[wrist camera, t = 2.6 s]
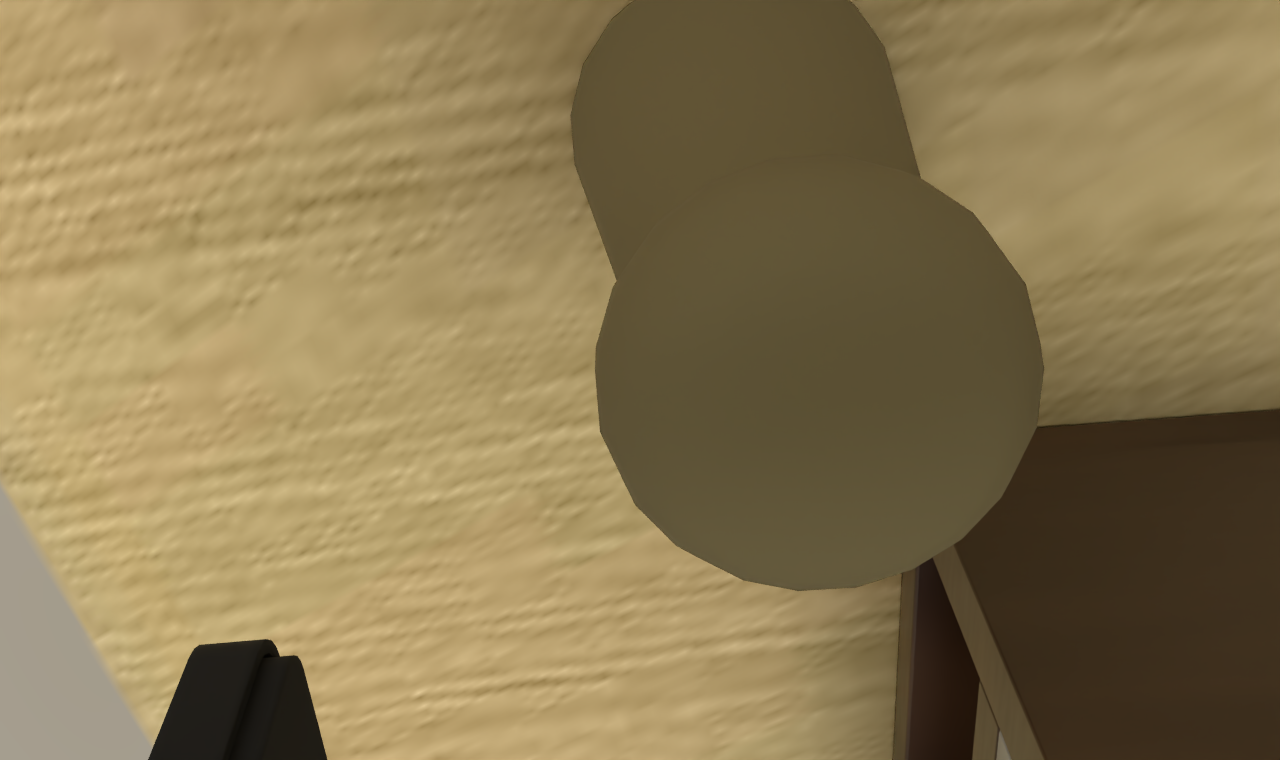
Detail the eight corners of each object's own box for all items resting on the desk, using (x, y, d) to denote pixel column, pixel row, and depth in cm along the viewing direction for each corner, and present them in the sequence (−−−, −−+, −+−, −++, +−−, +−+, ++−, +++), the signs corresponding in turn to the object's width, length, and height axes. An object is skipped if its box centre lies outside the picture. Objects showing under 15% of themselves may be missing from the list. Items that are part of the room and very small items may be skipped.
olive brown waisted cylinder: (558, 266, 24) (536, 656, 14) (584, -58, 21) (578, 162, 11) (863, 291, 24) (1040, 685, 15) (930, -23, 21) (1204, 218, 12)
